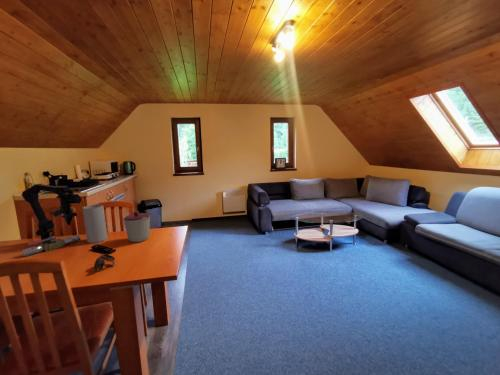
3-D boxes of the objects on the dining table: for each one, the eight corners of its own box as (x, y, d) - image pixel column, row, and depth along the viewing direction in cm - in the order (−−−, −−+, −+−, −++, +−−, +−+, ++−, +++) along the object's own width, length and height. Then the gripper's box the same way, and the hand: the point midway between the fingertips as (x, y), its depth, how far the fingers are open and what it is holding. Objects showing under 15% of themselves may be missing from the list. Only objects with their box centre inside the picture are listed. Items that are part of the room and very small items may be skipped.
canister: (146, 233, 192) (143, 206, 189) (157, 239, 180) (154, 210, 177) (121, 240, 180) (117, 211, 176) (131, 246, 167) (127, 215, 164)
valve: (22, 255, 160) (20, 245, 159) (77, 240, 185) (76, 231, 184) (25, 257, 156) (23, 247, 155) (81, 241, 181) (80, 233, 180)
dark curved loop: (95, 266, 141) (102, 252, 143) (112, 271, 143) (119, 257, 144) (87, 270, 129) (94, 255, 131) (105, 276, 131) (112, 261, 133)
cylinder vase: (111, 238, 184) (106, 205, 180) (93, 244, 174) (88, 209, 170) (102, 236, 191) (97, 204, 187) (84, 241, 181) (79, 207, 177)
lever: (54, 237, 172) (53, 235, 171) (56, 238, 170) (56, 236, 170) (27, 245, 159) (27, 242, 159) (30, 245, 158) (30, 243, 157)
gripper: (46, 205, 177) (50, 226, 180) (56, 207, 167) (60, 230, 169) (65, 201, 186) (68, 222, 189) (75, 204, 176) (79, 225, 178)
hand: (68, 225), depth 181 cm, fingers closed
